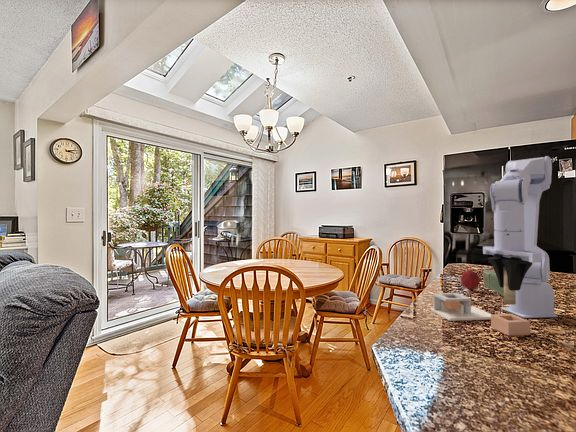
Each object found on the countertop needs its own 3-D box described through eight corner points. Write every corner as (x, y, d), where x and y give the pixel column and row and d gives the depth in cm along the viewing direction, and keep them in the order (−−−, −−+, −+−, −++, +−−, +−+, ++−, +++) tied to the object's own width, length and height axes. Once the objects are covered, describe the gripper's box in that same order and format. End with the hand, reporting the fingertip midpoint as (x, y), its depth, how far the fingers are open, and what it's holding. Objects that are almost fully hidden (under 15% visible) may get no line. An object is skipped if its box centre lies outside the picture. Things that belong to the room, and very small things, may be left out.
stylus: (510, 301, 70) (509, 266, 70) (518, 304, 68) (518, 267, 68) (501, 301, 70) (500, 266, 70) (509, 304, 68) (508, 268, 68)
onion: (483, 292, 103) (483, 269, 103) (467, 292, 103) (466, 269, 103) (473, 288, 109) (473, 266, 109) (457, 288, 109) (457, 266, 109)
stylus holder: (511, 326, 72) (511, 313, 72) (530, 334, 66) (530, 321, 66) (491, 326, 71) (491, 314, 71) (508, 335, 66) (508, 322, 66)
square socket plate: (473, 308, 85) (473, 290, 86) (497, 319, 77) (497, 299, 77) (430, 309, 85) (430, 292, 85) (449, 320, 76) (449, 301, 76)
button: (453, 305, 82) (453, 298, 82) (459, 308, 79) (459, 300, 79) (443, 305, 82) (443, 298, 82) (449, 308, 79) (449, 301, 79)
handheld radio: (492, 286, 111) (533, 306, 87) (482, 286, 112) (520, 306, 87) (491, 269, 111) (532, 284, 87) (481, 269, 112) (519, 284, 88)
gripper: (471, 229, 76) (472, 282, 76) (519, 233, 61) (519, 297, 61) (497, 229, 76) (497, 281, 76) (550, 232, 62) (551, 296, 62)
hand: (509, 288), depth 69 cm, fingers closed on stylus, 2 cm apart
